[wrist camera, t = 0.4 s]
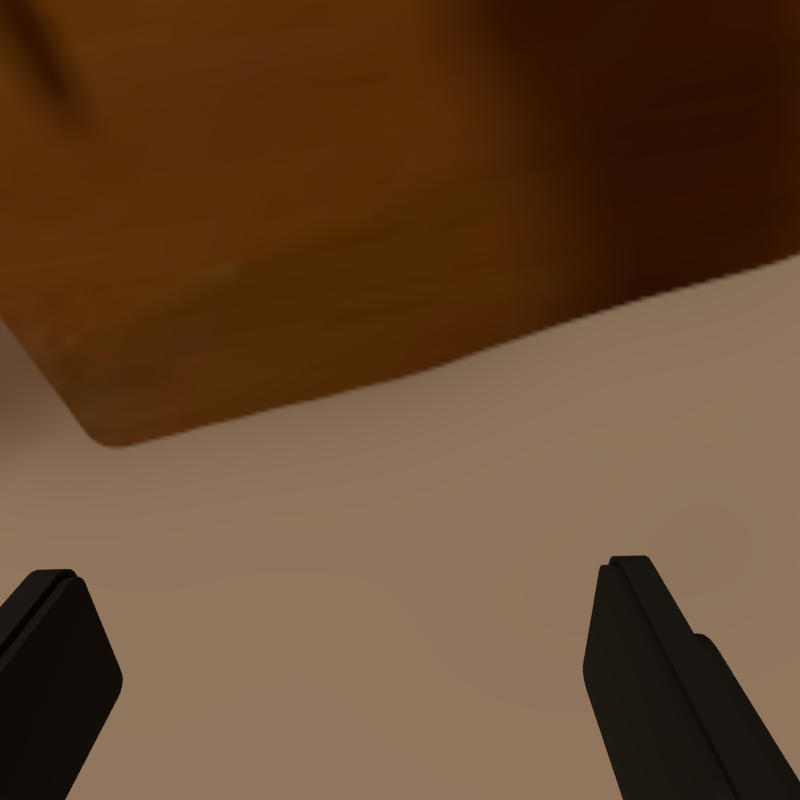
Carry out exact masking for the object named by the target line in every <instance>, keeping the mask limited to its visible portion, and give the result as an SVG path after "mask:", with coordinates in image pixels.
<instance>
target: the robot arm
mask: <svg viewBox="0 0 800 800" xmlns="http://www.w3.org/2000/svg"><path fill="white" fill-rule="evenodd" d="M583 676H584V682H585V686H586V689H587V692H588V695H589V699H590V702H591V705H592V708H593V710H594V714H595V717H596V720H597V722H598V726H599V729H600V731H601V735H602V737H603V741H604V744H605V747H606V750H607V753H608V756H609V759H610V761H611V765H612V768H613V771H614V774H615V776H616V780H617V783H618V786H619V789H620V792H621V795H622V798H623V800H800V781H799V780H798V778H797V777H796V775H795V773H794V772H793V770H792V768H791V767H790V765H789V764H788V762H787V760H786V759H785V757H784V756H783V754H782V752H781V751H780V749H779V747H778V746H777V744H776V743H775V741H774V739H773V738H772V736H771V734H770V733H769V731H768V730H767V728H766V726H765V725H764V723H763V722H762V720H761V718H760V717H759V715H758V714H757V712H756V710H755V709H754V707H753V705H752V704H751V702H750V700H749V699H748V697H747V696H746V694H745V693H744V691H743V689H742V688H741V686H740V685H739V683H738V681H737V679H736V678H735V676H734V675H733V673H732V671H731V670H730V668H729V667H728V665H727V664H726V662H725V660H724V658H723V657H722V655H721V654H720V652H719V650H718V649H717V647H716V646H715V645H714V644H713V642H712V641H711V640H710V639H709V638H708V637H706V636H705V635H703V634H694V633H693V631H692V629H691V628H690V626H689V624H688V623H687V621H686V619H685V618H684V616H683V614H682V612H681V611H680V609H679V607H678V606H677V604H676V602H675V601H674V599H673V597H672V595H671V594H670V592H669V590H668V589H667V587H666V585H665V584H664V582H663V580H662V578H661V577H660V575H659V573H658V572H657V570H656V568H655V567H654V565H653V563H652V562H651V560H650V559H649V558H648V557H647V556H612V557H611V559H610V561H609V565H601V567H600V569H599V574H598V580H597V586H596V592H595V598H594V604H593V610H592V616H591V621H590V627H589V633H588V639H587V645H586V651H585V657H584V662H583ZM122 682H123V677H122V672H121V670H120V667H119V665H118V662H117V660H116V657H115V655H114V652H113V650H112V648H111V645H110V643H109V640H108V638H107V635H106V633H105V630H104V628H103V626H102V623H101V621H100V618H99V616H98V613H97V611H96V608H95V606H94V603H93V601H92V598H91V596H90V594H89V591H88V589H87V586H86V584H85V582H84V580H83V579H82V578H80V577H77V575H76V573H75V572H74V571H72V570H71V569H52V570H36V571H33V572H31V573H30V574H29V575H28V576H27V577H26V578H25V579H24V580H23V581H22V583H21V584H20V585H19V586H18V587H17V588H16V590H15V591H14V592H13V593H12V594H11V595H10V596H9V598H8V599H7V600H6V601H5V602H4V603H3V604H2V606H1V607H0V800H65V799H66V797H67V795H68V793H69V791H70V789H71V787H72V785H73V784H74V782H75V780H76V778H77V775H78V774H79V772H80V770H81V768H82V766H83V764H84V762H85V760H86V758H87V757H88V755H89V753H90V751H91V749H92V747H93V745H94V743H95V741H96V739H97V737H98V735H99V733H100V731H101V729H102V727H103V726H104V724H105V722H106V720H107V718H108V716H109V714H110V712H111V710H112V708H113V706H114V704H115V702H116V701H117V699H118V696H119V694H120V692H121V688H122Z"/></svg>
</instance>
